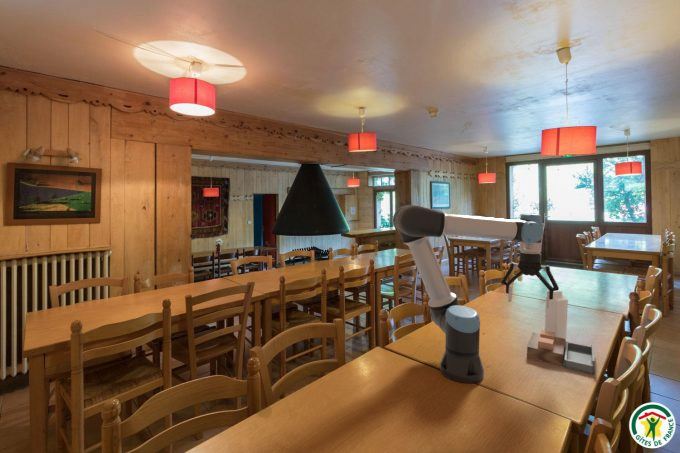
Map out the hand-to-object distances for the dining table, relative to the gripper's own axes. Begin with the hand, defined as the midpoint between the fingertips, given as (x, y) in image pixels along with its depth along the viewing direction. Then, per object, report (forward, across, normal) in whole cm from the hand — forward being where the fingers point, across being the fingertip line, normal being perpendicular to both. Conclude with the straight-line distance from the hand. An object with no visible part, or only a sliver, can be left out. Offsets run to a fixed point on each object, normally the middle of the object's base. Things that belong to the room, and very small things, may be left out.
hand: (528, 304), depth 137 cm
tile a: (+16, +6, +1) cm, 18 cm away
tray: (+21, +18, +5) cm, 28 cm away
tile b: (+16, +6, +10) cm, 20 cm away
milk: (+21, +8, +24) cm, 33 cm away
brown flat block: (+21, +6, +5) cm, 23 cm away
